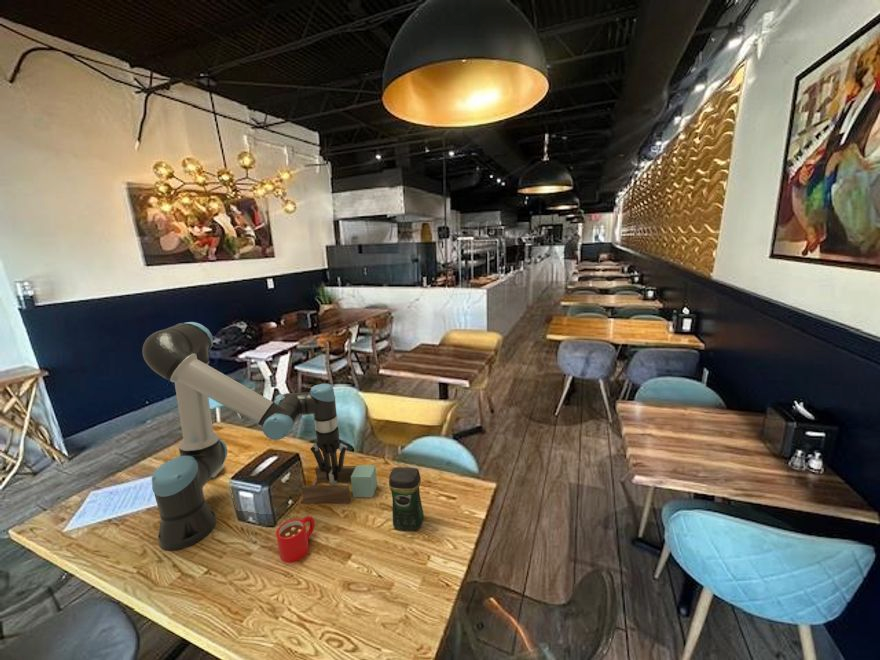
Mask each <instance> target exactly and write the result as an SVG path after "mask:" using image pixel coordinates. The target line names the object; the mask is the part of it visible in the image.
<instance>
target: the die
mask: <svg viewBox="0 0 880 660" xmlns="http://www.w3.org/2000/svg"><path fill="white" fill-rule="evenodd" d="M225 467H226V466H225V462H224V463H223V464H222V466H221V467H220V468H219V469H218V470H217V471H216V473H215V474H214V475H213V476H212V477H211V478H212V479H215V477H217V475H218V474H219V473H220V472H221V471H222V470H223V469H224V468H225Z"/></svg>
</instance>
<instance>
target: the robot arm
mask: <svg viewBox="0 0 880 660" xmlns="http://www.w3.org/2000/svg"><path fill="white" fill-rule="evenodd" d="M213 345H214V337H213V335H212V333H211V331H210V330H209V328H208V327H206V326H204V325H203V324H201V323H198V322H195V321H189V322H188V321H187V322H181V323H177V324H175V325H173V326H170V327H167V328H165V329H160V330H157V331H155V332H152V334H150V335H149V336H148V337H147V338H146V339H145V341H144V342H143V345H142V348H141V349H142V357H143V360H144V361H145V363H146V365H147V366H148V367H149V368H150V369H151V370H152V371H153V372H154V373H156V374H157V375H159V376H161V377H162V378H163V379H165V380H167V381H169V382H171V383H174V387H175V393H176V394H175V395H176V400H177V407H178V413H179V420H180V426H181V432H182V440H181V441H180V442H179V444H178V450H179V456H177V457H174V458H171V459H169V461H165V462H163V463H162V464H160V466H158V467H157V468H156V469H155V470H154V472H153V474H152V476H151V484H152V486H151V487H152V491H153V493H154V498H155V500H156V505H157V510H158V513H159V517H160V524H159V530H158V531H159V532H158V535H157V537H158V538H157V539H158V543H159V546H160V548H161V549H163V550H165V551H176V550H181V549H184V548H189V547H190V546H192V545H195V544H196V543H198V542H199V541H202V540H203V539H204V538H206V536H208V535H209V534H210V533H211V532H212V531H213V530H214V528H215V526H216V524H217V518H216V514H215V512H214V511H213V510H212V509H211V508H210V506H209V505H208V503H207V502H206V500H205V494H204V489H203V488H204V486H205V485H206V484H207V483H208V482H209V481H210V479H211V478H212V476H213V475H214V474H215V473H216V471H217V470H218V469H219V468H220V467H221V466H222V464H223V463H224V464H225V461H226V459H227V456H228V447H227V444H226V443H225V441H222V439H221V438H220V435H219V434H217V433H215V432H214V426H213V420H212V413H211V405H210V399H211V400H213V401H215V402H216V403H218V404H220V405H223V406H224V407H226V408H228V409H229V410H231V411H233V412H234V413H236V414H238V415H240V416H243V417H245V418H246V419H248V420H250V421H252V422H254V423H255V424H257V425H259V426H261V427H262V432H263V434H264V436H265V437H266V438H268V439H269V440H273V441H280V440H282V439H284V438H285V437H287V436H288V434H289V433H290V432H291V431H292V430H293V428H294V426H295V424H296V422H297V421H298V419H299V418H300V416H305V415H306V416H307V415H313V421H314V429H315V437H316V443H315V444H312V446H311V447H310V451H311V452H312V454H313V455H314V458H315V460H316V463H317V466H319V468H320V471H321V472H323V471H324V472H326V476H327V480H328V481H330V482H329V485H338V482H337V480H338V478H339V476H338V472H340V471H341V470H342V468H343V466H344V462H345V456H346V450H347V448H348V444H347V443H346V444H343V443H342V441H341V439H340V431H339V426H338V425H339V424H338V423H339V422H338V415H337V405H336V395H335V390H334V386H333V385H332V384H330V383H320V384H316V385H313V386H312V387H311V388H310V391H309V392H294V393H293V392H292V393H290V392H286V393H281V394H278V395H276V396H275V398H274V401H272V400H270V399H269V398H267V397H265V396H263V395H262V394H259V392H256V391H254V390H253V389H250V388H249V387H248V386H246V385H244V384H242V383H240V382H238V381H236V380H235V379H233V378H231V377H230V376H228V375H226V374H224V373H223V372H221V371H219V370H218V369H215V368H214V367H212V366H210V365H209V363H210V359H209V358H210V357H209V352H210V350H211V349H212V347H213ZM338 449H339V451H340V452H339V457H338V456H337V452H338V451H337V450H338ZM331 466H332V467H331ZM331 468H332V470H331Z"/></svg>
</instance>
